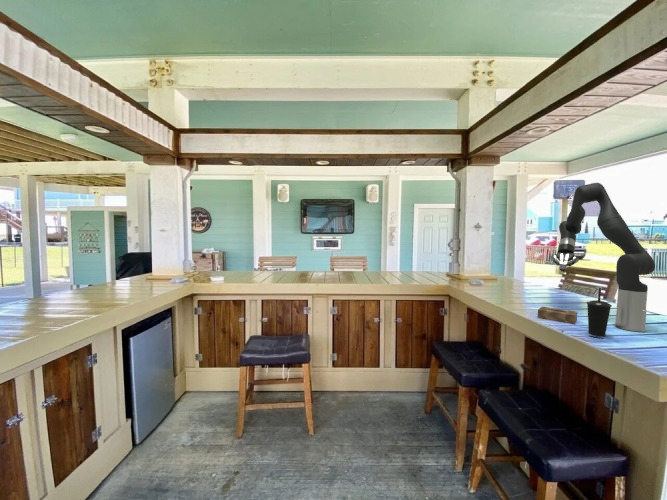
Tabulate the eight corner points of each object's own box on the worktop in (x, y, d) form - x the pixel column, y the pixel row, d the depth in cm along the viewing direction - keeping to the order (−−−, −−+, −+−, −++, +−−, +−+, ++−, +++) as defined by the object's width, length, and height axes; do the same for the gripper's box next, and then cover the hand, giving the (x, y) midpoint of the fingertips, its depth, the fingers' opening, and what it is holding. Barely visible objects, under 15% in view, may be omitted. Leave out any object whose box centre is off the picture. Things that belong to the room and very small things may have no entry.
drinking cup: (587, 338, 121) (591, 288, 120) (581, 332, 128) (584, 285, 127) (612, 341, 118) (616, 290, 116) (605, 335, 124) (608, 287, 123)
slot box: (576, 322, 143) (577, 311, 143) (574, 326, 136) (575, 315, 136) (541, 316, 153) (541, 306, 153) (537, 320, 146) (537, 309, 145)
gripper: (551, 242, 175) (547, 265, 167) (581, 243, 166) (577, 267, 158) (552, 251, 180) (548, 273, 171) (581, 252, 171) (578, 276, 162)
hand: (562, 270), depth 165 cm, fingers closed
